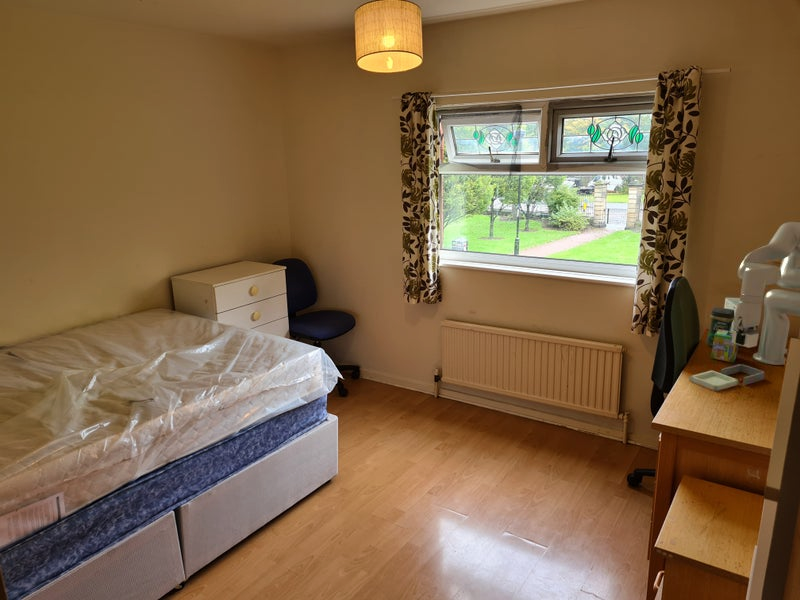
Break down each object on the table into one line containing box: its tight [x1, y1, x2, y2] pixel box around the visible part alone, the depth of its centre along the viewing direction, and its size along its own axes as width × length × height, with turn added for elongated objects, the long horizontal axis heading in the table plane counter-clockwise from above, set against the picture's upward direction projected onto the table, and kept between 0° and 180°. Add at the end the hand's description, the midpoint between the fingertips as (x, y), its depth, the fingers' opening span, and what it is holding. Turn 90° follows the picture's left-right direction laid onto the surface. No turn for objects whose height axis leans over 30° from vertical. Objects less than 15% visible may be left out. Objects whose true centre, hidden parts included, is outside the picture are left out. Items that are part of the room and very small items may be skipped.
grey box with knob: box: [731, 326, 760, 349], centre depth 215 cm, size 5×7×7 cm
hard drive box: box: [723, 297, 743, 347], centre depth 260 cm, size 16×8×20 cm, turn 168°
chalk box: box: [710, 326, 740, 363], centre depth 240 cm, size 9×9×15 cm
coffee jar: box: [706, 306, 734, 348], centre depth 254 cm, size 10×8×19 cm
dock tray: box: [689, 370, 739, 392], centre depth 216 cm, size 13×11×2 cm
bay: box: [720, 363, 766, 386], centre depth 220 cm, size 13×10×3 cm
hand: (744, 342), depth 216 cm, fingers closed on grey box with knob, 5 cm apart
